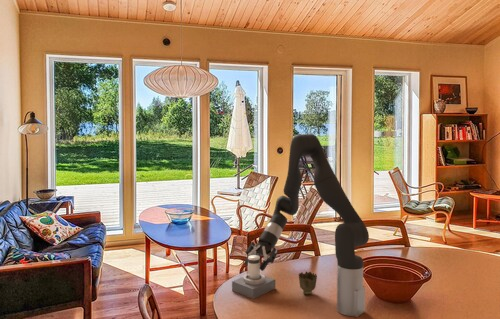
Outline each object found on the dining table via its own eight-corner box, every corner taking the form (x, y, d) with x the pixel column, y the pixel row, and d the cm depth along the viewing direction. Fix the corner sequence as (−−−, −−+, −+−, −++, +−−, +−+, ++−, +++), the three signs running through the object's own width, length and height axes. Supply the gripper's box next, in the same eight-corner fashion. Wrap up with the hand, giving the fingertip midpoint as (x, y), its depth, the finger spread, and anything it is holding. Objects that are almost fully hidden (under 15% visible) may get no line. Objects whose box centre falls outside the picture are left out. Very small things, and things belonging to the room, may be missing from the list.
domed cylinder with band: (262, 280, 159) (262, 256, 159) (254, 283, 156) (254, 259, 155) (253, 276, 163) (253, 254, 162) (245, 280, 159) (245, 257, 158)
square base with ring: (275, 288, 160) (275, 275, 160) (253, 299, 150) (253, 285, 150) (254, 281, 168) (254, 269, 168) (232, 290, 158) (232, 277, 158)
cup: (302, 298, 151) (302, 278, 150) (295, 291, 158) (295, 272, 157) (319, 296, 153) (320, 277, 152) (312, 289, 160) (312, 270, 159)
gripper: (254, 227, 169) (236, 258, 161) (279, 233, 159) (262, 266, 151) (262, 236, 173) (245, 267, 165) (287, 242, 163) (270, 276, 156)
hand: (253, 267), depth 158 cm, fingers open, 8 cm apart
